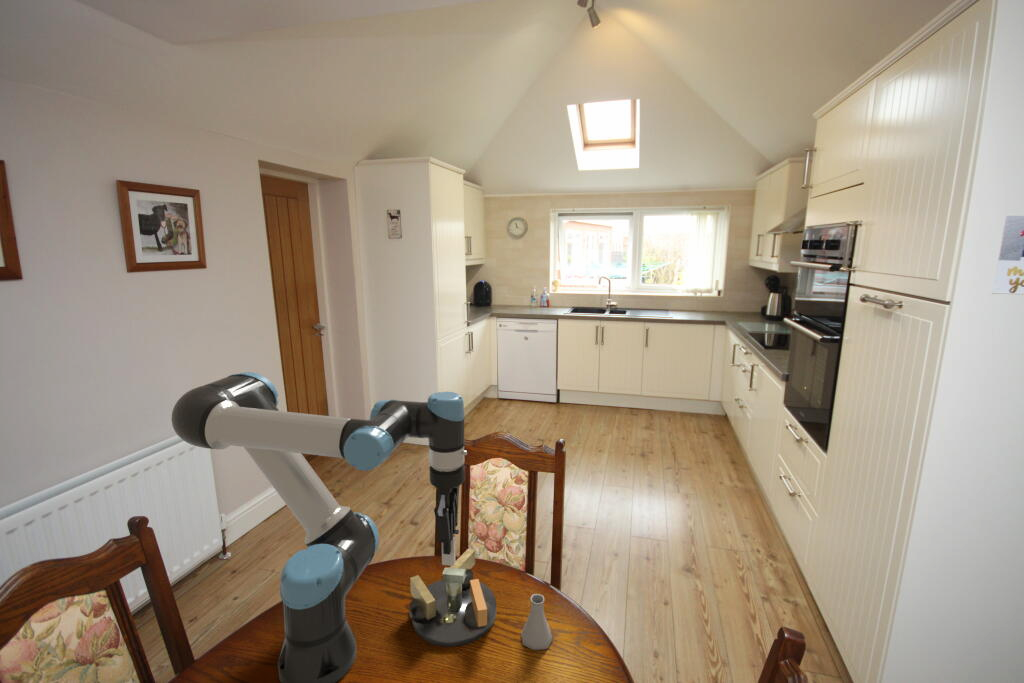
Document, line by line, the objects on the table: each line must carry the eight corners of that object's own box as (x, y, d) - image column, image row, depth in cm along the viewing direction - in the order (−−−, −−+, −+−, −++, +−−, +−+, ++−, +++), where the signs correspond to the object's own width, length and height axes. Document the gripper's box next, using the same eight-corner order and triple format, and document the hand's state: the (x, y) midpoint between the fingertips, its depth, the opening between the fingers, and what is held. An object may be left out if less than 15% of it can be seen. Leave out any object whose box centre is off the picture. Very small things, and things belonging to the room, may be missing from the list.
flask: (550, 654, 102) (552, 613, 100) (517, 648, 103) (518, 608, 101) (554, 628, 109) (555, 589, 107) (523, 623, 110) (523, 585, 108)
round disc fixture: (397, 641, 105) (395, 597, 102) (427, 574, 127) (426, 536, 125) (488, 651, 102) (488, 606, 100) (503, 581, 124) (503, 543, 122)
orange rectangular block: (495, 632, 104) (496, 607, 103) (469, 638, 103) (468, 612, 102) (486, 601, 114) (486, 577, 113) (461, 605, 112) (461, 581, 111)
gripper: (457, 479, 95) (458, 584, 99) (470, 453, 107) (471, 547, 112) (420, 477, 95) (423, 581, 100) (438, 451, 108) (440, 544, 112)
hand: (448, 563), depth 106 cm, fingers closed
